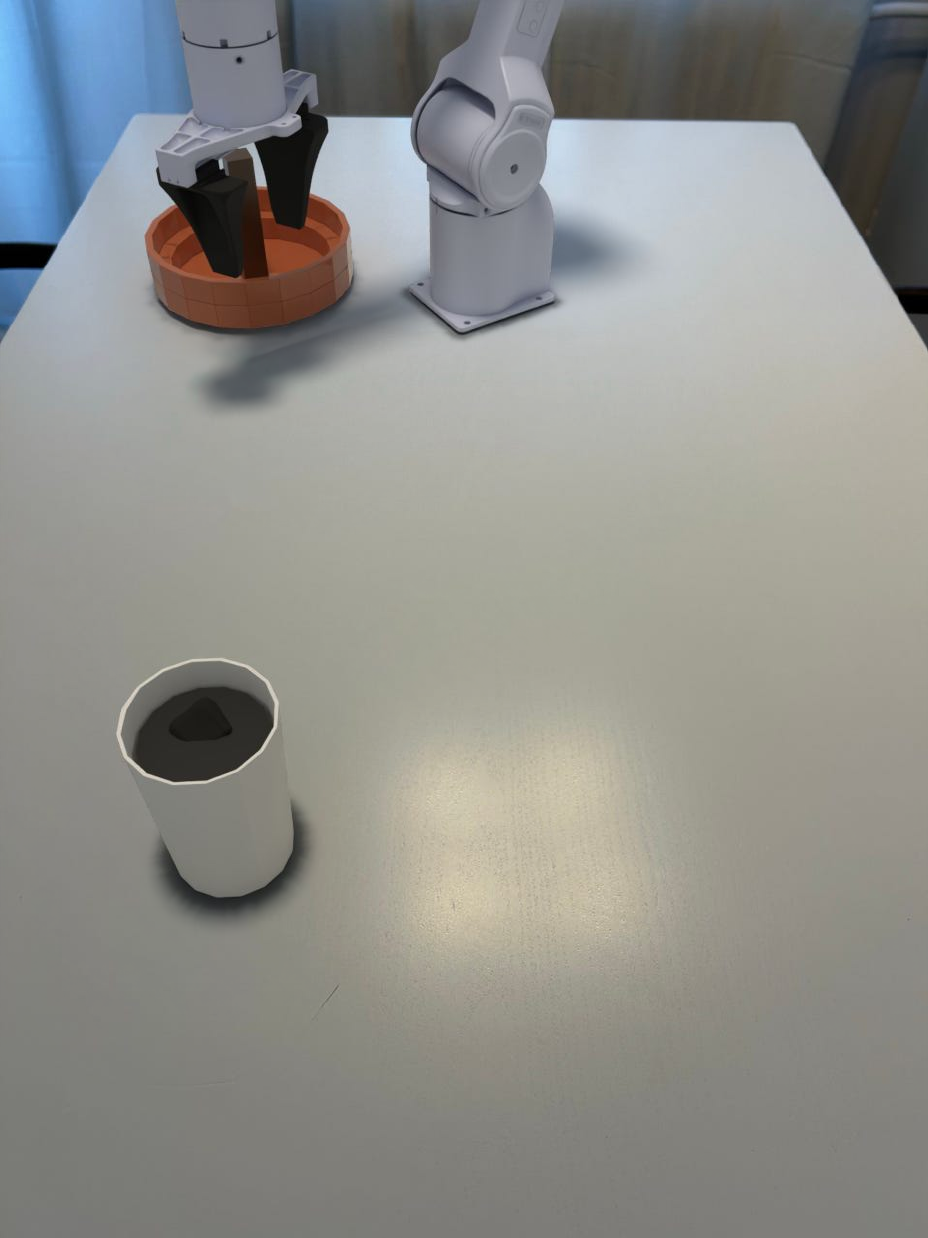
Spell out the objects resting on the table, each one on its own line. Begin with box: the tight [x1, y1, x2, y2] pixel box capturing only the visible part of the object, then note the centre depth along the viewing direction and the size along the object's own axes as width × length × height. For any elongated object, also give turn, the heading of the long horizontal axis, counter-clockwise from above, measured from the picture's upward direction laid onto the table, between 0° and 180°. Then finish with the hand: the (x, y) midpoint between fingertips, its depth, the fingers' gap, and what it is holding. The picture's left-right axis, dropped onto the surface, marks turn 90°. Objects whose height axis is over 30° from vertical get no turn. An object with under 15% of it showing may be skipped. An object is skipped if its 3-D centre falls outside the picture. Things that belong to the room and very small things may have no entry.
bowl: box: [144, 185, 354, 329], centre depth 85 cm, size 16×16×4 cm
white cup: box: [115, 657, 295, 898], centre depth 46 cm, size 7×7×10 cm
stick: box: [221, 147, 269, 279], centre depth 82 cm, size 2×2×10 cm
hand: (259, 247), depth 71 cm, fingers open, 7 cm apart
